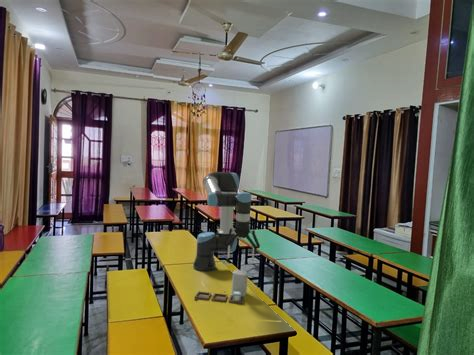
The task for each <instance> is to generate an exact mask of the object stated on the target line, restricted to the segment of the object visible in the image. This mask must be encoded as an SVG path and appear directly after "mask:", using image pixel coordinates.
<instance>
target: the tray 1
mask: <svg viewBox="0 0 474 355" xmlns="http://www.w3.org/2000/svg"><path fill="white" fill-rule="evenodd" d="M199 291H200V290H199ZM199 291H197V292H196V294H195V296H194V298H193V299H194V300H195V301H198V300H202V301H203V300H204V301H209V299H211V296H212V292H205V291H200V292H199Z"/></svg>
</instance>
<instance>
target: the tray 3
mask: <svg viewBox="0 0 474 355" xmlns="http://www.w3.org/2000/svg"><path fill="white" fill-rule="evenodd" d="M244 300H245V296H241V301H233V295H232V294H231V295H230V297H229V299H228V303H230V304H239V305H244Z"/></svg>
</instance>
